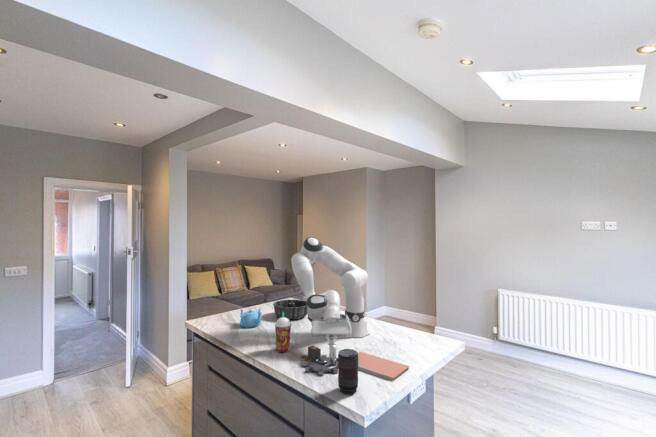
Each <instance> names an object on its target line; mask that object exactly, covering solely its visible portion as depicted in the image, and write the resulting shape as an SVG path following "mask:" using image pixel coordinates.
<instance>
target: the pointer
mask: <svg viewBox="0 0 656 437" xmlns="http://www.w3.org/2000/svg"><path fill="white" fill-rule="evenodd" d="M300 358H301V359H302V360H303V361H309V358H308V354H307V355H306V354H305V353H304V354H301V355H300Z"/></svg>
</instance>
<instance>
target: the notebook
mask: <svg viewBox="0 0 656 437" xmlns="http://www.w3.org/2000/svg"><path fill="white" fill-rule="evenodd" d="M357 352H358V371H360V372H364V373H366V374H369V375H371V376H375V377H378V378H379V379H380V378H381V379H382V380H386V381H392V382H394V381H396V380H397V379H398V378H399V377H401V376H402V375H403V374H404V373H405V372H406V371H408V370H409V368H410V365H408V364H405V363H404V364H403V363H401V362H397V361H394V360H390V359H387V358H383V357H380V356H376V355H373V354H370V353H367V352H363V351H357Z"/></svg>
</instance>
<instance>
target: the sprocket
mask: <svg viewBox="0 0 656 437" xmlns="http://www.w3.org/2000/svg"><path fill="white" fill-rule="evenodd" d="M302 367H305V372H307V373H311V372H314V373H318V375H319V376H324V375H325V374H327V373H333V374H334V375H335V374H338V370H339V369H338V357H337V344H335V343H334V344H330V345H329V357H327V355H326V354H325V355H324V354H321V359H319V360H318V361H314V360H312V359H310V358H309V360H308V361H306V360H303V362H302Z"/></svg>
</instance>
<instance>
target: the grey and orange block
mask: <svg viewBox="0 0 656 437" xmlns="http://www.w3.org/2000/svg"><path fill="white" fill-rule="evenodd" d="M321 349H322V348H319V347H318V346H315V345H309V346H308V347H307V356H308V358H310V359H312V360H314V361H318V360H319V359H321V357H322V353H321Z"/></svg>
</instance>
